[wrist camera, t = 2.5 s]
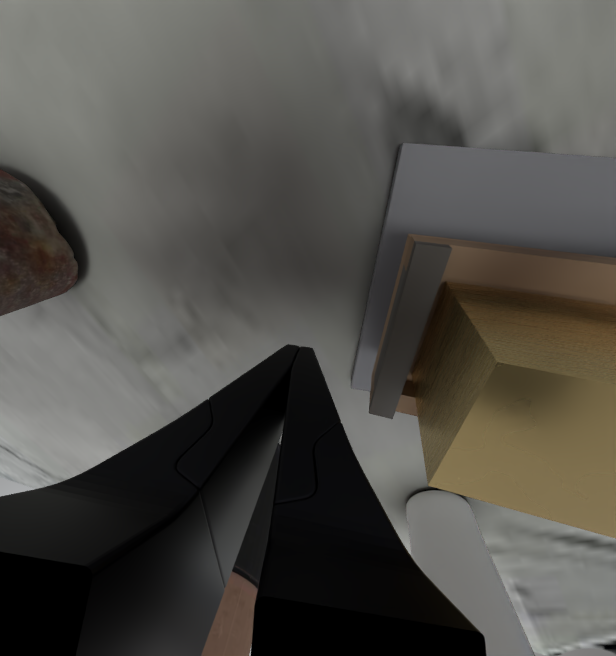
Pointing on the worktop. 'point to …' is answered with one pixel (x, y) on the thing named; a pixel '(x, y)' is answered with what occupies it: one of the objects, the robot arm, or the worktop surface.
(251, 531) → the travel mug
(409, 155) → the stand
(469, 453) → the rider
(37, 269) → the candle
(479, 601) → the drinking glass
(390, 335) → the beam
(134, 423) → the worktop surface
